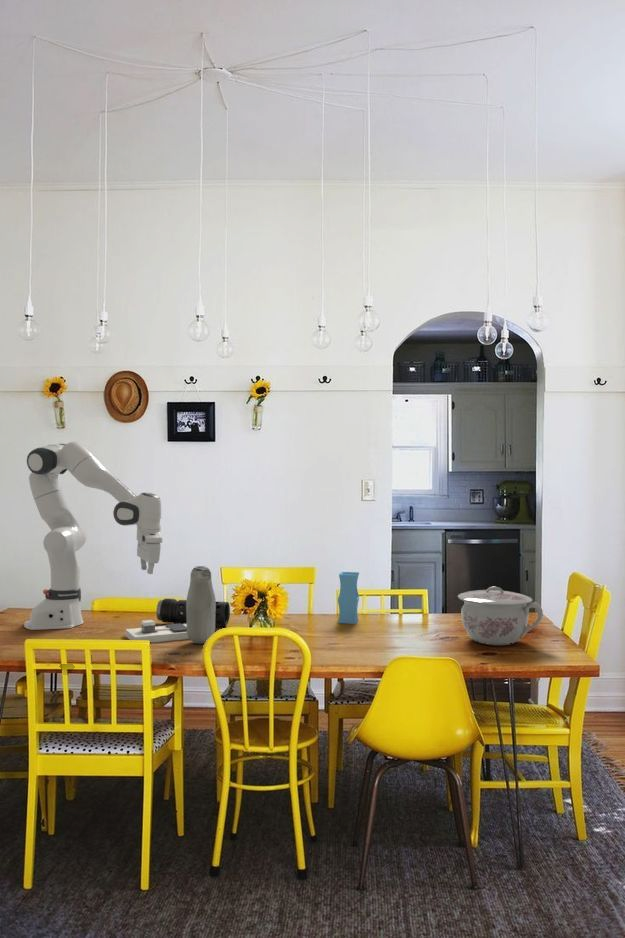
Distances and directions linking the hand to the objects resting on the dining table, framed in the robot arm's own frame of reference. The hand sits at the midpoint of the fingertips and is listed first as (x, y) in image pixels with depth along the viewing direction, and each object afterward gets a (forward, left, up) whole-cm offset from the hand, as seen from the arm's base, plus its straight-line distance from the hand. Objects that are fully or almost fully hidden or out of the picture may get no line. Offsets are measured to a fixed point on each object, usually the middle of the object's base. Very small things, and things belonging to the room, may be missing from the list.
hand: (146, 571), depth 310 cm
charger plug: (-2, -9, -23) cm, 25 cm away
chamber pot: (+115, -65, -24) cm, 134 cm away
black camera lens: (+21, +6, -24) cm, 32 cm away
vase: (+82, -12, -24) cm, 86 cm away
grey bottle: (+14, -24, -24) cm, 36 cm away
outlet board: (+4, -9, -23) cm, 25 cm away
